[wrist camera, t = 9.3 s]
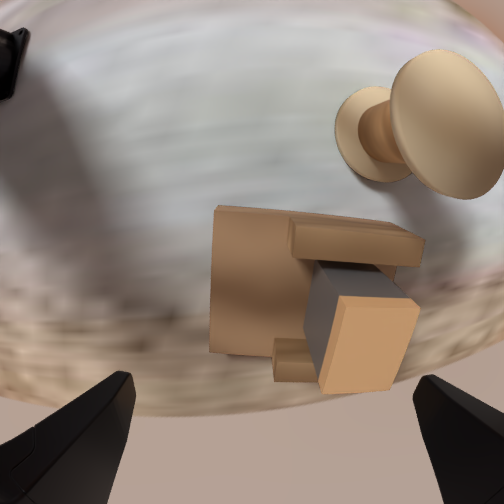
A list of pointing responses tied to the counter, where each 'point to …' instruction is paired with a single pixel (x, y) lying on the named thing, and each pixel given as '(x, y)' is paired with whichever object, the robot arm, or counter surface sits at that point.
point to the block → (356, 327)
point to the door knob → (427, 127)
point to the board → (287, 277)
